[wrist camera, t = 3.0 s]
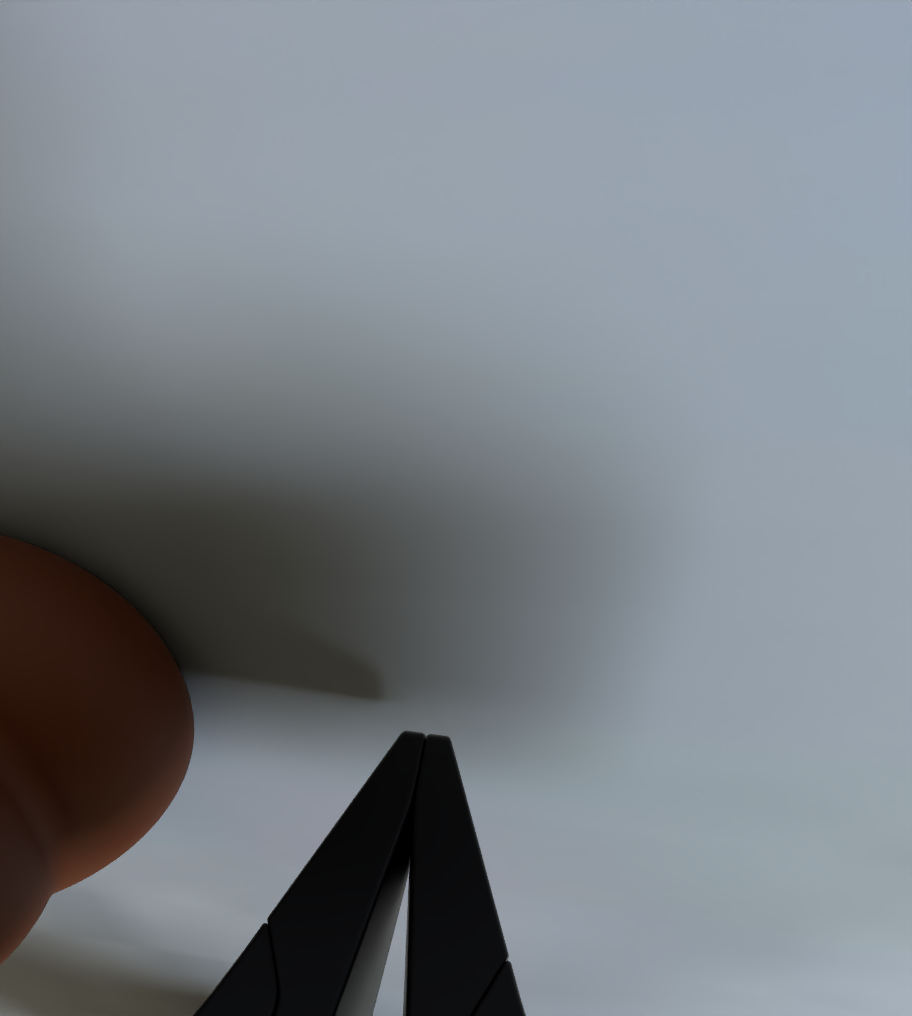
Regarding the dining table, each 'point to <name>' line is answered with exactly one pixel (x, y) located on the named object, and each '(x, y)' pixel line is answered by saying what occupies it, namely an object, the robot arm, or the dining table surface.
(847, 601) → the dining table surface
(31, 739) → the poop emoji
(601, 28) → the dining table surface
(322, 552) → the dining table surface
